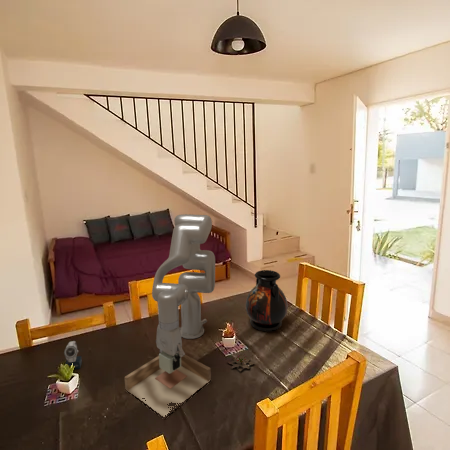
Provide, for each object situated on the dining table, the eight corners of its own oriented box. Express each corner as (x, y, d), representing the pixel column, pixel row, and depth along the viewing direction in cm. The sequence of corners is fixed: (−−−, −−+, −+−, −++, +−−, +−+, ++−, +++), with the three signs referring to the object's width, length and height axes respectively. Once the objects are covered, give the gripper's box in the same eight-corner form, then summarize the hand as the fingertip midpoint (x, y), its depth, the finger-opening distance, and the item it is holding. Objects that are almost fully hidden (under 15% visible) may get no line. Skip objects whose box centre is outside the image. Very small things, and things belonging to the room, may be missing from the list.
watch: (64, 373, 133) (61, 349, 131) (68, 361, 141) (66, 338, 139) (79, 371, 135) (76, 347, 132) (82, 359, 142) (80, 337, 140)
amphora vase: (238, 319, 177) (238, 270, 170) (271, 311, 186) (273, 264, 179) (258, 339, 158) (260, 285, 151) (295, 329, 167) (298, 278, 160)
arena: (172, 359, 142) (172, 347, 141) (210, 381, 129) (210, 368, 128) (125, 390, 124) (124, 376, 123) (164, 419, 111) (163, 404, 109)
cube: (170, 360, 133) (170, 346, 131) (181, 366, 129) (180, 352, 128) (159, 367, 128) (158, 353, 127) (169, 373, 124) (169, 359, 123)
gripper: (146, 319, 127) (148, 361, 131) (177, 334, 116) (178, 379, 120) (161, 312, 133) (163, 352, 137) (192, 326, 122) (193, 368, 126)
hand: (170, 364), depth 128 cm, fingers closed on cube, 6 cm apart
